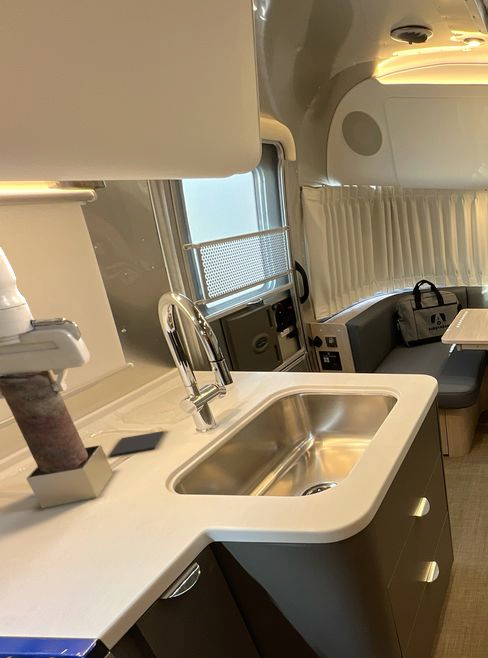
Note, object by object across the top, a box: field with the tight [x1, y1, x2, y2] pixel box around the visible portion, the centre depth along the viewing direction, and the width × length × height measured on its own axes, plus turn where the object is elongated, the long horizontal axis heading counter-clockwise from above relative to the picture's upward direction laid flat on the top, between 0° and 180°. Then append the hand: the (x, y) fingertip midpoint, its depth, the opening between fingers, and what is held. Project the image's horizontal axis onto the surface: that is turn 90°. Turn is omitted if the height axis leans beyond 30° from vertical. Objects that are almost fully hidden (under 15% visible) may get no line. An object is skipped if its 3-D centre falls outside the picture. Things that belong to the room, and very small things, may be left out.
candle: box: [0, 370, 88, 473], centre depth 93 cm, size 8×7×20 cm
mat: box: [110, 431, 164, 457], centre depth 116 cm, size 8×8×1 cm
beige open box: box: [26, 444, 114, 509], centre depth 98 cm, size 9×10×7 cm
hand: (31, 394), depth 91 cm, fingers closed on candle, 7 cm apart
